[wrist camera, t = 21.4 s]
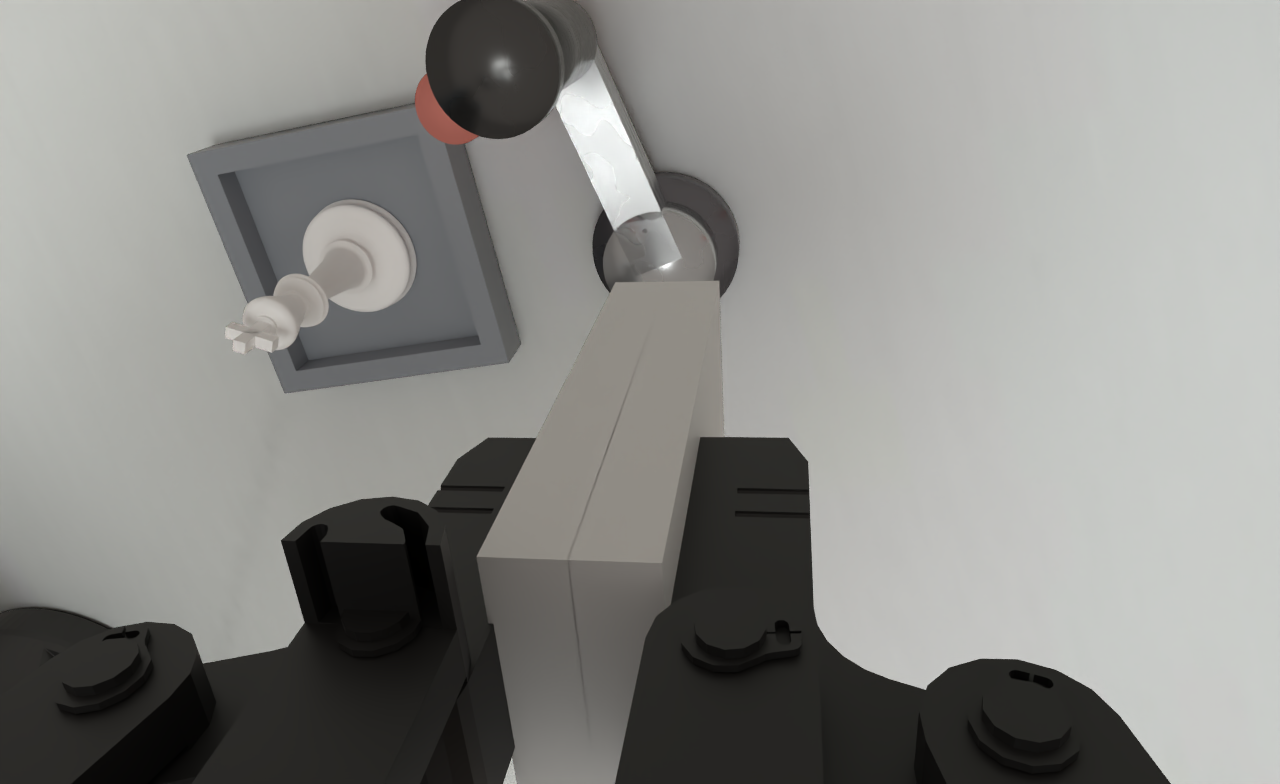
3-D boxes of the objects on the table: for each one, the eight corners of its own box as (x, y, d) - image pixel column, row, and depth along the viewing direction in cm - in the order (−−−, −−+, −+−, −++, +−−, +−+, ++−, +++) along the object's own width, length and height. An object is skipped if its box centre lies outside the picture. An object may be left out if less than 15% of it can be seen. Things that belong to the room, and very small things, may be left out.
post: (498, 109, 36) (428, 150, 29) (481, 47, 35) (405, 74, 28) (554, 98, 36) (497, 137, 29) (539, 34, 35) (476, 58, 28)
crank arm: (734, 283, 37) (718, 384, 28) (637, 320, 38) (594, 426, 30) (595, -42, 32) (528, -36, 24) (490, 12, 34) (392, 36, 25)
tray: (305, 375, 43) (284, 393, 42) (213, 145, 39) (186, 155, 37) (520, 344, 41) (508, 362, 39) (450, 95, 36) (433, 103, 35)
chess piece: (408, 322, 40) (301, 429, 32) (302, 288, 40) (167, 387, 32) (425, 219, 38) (315, 304, 29) (313, 183, 38) (171, 258, 29)
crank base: (614, 320, 40) (610, 329, 39) (582, 186, 37) (577, 192, 36) (750, 300, 38) (749, 309, 38) (726, 160, 36) (725, 165, 35)
